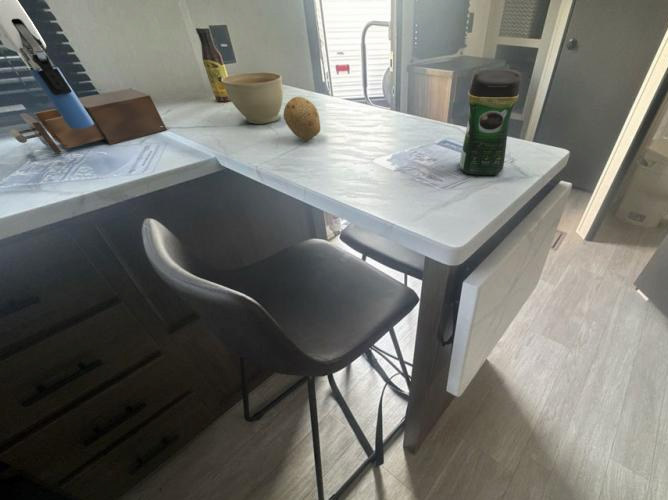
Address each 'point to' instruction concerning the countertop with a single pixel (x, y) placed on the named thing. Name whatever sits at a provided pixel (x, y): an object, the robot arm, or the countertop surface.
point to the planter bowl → (256, 95)
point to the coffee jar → (489, 120)
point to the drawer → (57, 131)
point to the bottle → (65, 103)
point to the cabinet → (123, 114)
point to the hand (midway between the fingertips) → (58, 90)
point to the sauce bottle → (213, 64)
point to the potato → (302, 118)
